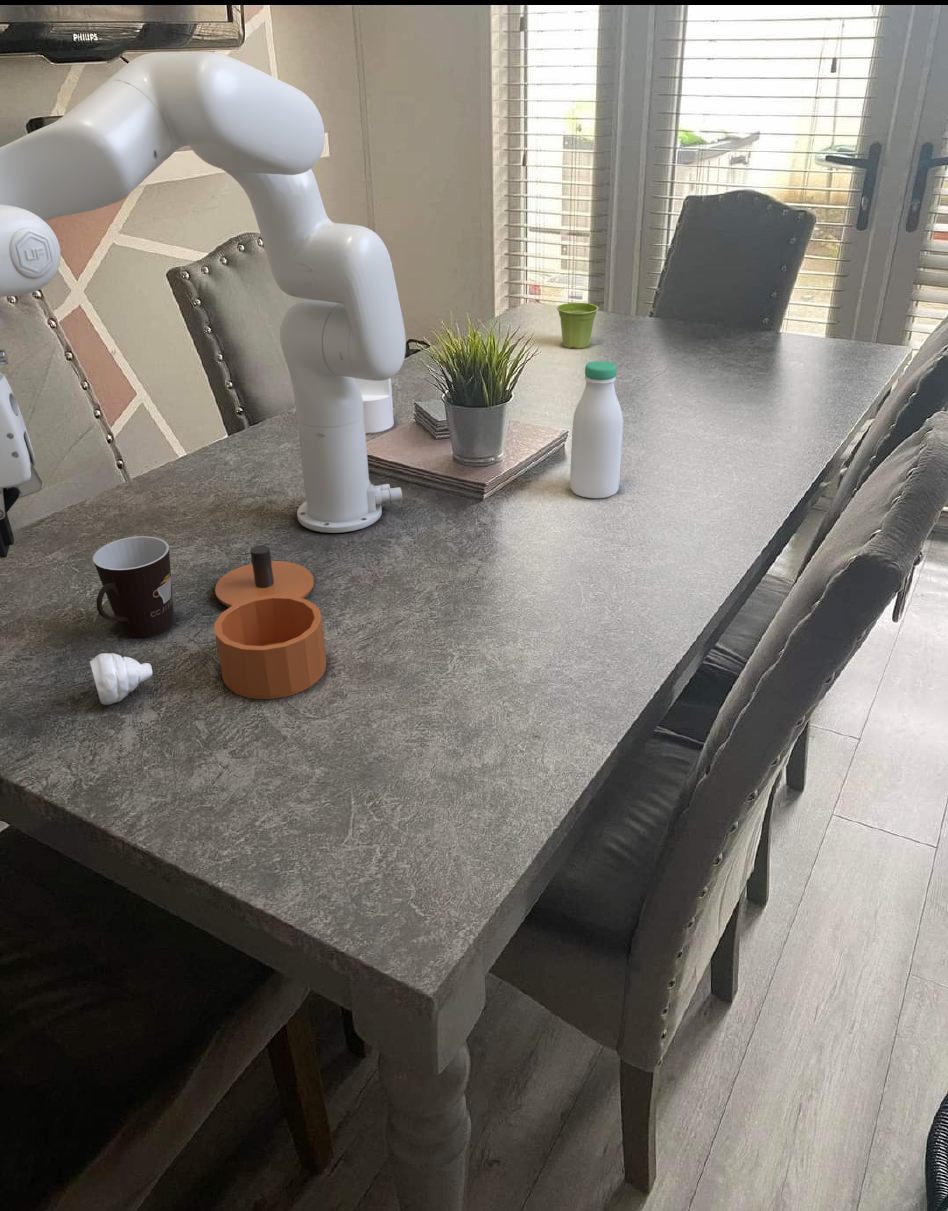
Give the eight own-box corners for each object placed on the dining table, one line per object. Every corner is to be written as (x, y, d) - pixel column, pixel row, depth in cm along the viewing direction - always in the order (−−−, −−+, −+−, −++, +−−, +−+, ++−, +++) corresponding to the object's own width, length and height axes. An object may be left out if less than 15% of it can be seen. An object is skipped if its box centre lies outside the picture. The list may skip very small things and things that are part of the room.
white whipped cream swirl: (161, 699, 105) (152, 658, 102) (104, 715, 103) (93, 673, 100) (151, 674, 109) (142, 634, 106) (96, 689, 107) (85, 647, 104)
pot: (318, 635, 116) (312, 588, 112) (333, 688, 106) (328, 639, 103) (219, 651, 113) (211, 603, 110) (226, 707, 103) (217, 657, 100)
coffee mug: (156, 599, 124) (141, 529, 119) (197, 621, 119) (183, 549, 114) (74, 638, 116) (54, 565, 111) (114, 662, 111) (96, 587, 106)
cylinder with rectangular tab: (395, 416, 183) (392, 353, 177) (391, 432, 175) (387, 367, 169) (348, 416, 183) (343, 353, 177) (342, 433, 175) (336, 368, 169)
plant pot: (604, 346, 222) (606, 308, 217) (571, 353, 218) (572, 314, 213) (581, 337, 229) (582, 300, 224) (548, 343, 225) (548, 305, 220)
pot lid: (307, 562, 132) (302, 522, 129) (321, 606, 122) (316, 564, 119) (213, 576, 129) (206, 535, 126) (219, 622, 119) (212, 579, 116)
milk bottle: (622, 499, 148) (631, 371, 138) (572, 500, 148) (577, 372, 138) (615, 479, 155) (623, 356, 145) (567, 480, 155) (572, 357, 145)
